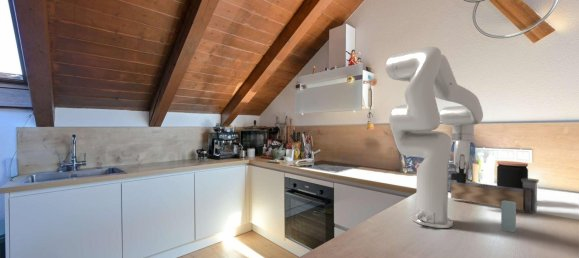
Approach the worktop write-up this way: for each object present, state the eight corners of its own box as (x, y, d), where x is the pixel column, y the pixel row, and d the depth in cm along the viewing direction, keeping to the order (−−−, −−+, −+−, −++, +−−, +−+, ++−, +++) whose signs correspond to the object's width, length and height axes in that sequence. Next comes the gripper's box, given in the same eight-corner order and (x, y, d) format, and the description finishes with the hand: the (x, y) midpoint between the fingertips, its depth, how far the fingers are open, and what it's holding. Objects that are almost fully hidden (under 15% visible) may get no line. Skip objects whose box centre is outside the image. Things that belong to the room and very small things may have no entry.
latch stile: (513, 232, 79) (513, 203, 79) (501, 229, 81) (501, 201, 81) (515, 230, 81) (515, 202, 81) (503, 227, 83) (504, 200, 83)
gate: (450, 198, 115) (450, 180, 115) (451, 197, 117) (451, 179, 117) (531, 212, 97) (531, 190, 97) (531, 211, 98) (531, 190, 98)
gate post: (536, 214, 97) (536, 180, 97) (520, 211, 101) (521, 178, 101) (538, 212, 100) (538, 179, 100) (523, 209, 103) (523, 177, 104)
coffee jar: (531, 206, 107) (531, 164, 107) (498, 202, 113) (499, 162, 113) (524, 201, 116) (524, 162, 116) (494, 197, 122) (495, 160, 122)
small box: (464, 194, 128) (464, 173, 128) (450, 193, 129) (450, 173, 129) (455, 189, 138) (455, 170, 138) (442, 188, 140) (442, 169, 140)
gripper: (452, 138, 113) (450, 179, 112) (451, 137, 100) (450, 183, 100) (472, 139, 109) (471, 182, 108) (474, 138, 96) (473, 186, 96)
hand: (461, 182), depth 104 cm, fingers closed
